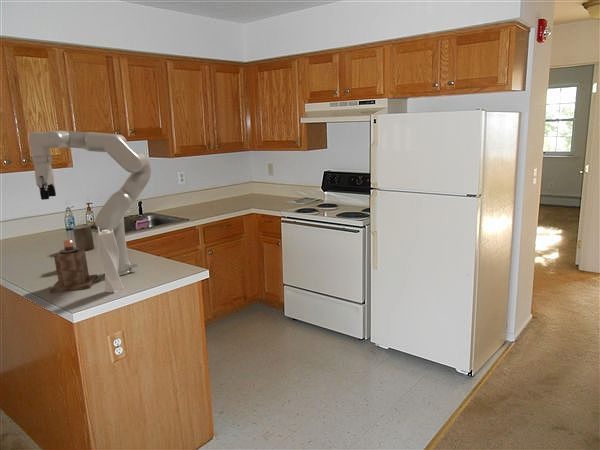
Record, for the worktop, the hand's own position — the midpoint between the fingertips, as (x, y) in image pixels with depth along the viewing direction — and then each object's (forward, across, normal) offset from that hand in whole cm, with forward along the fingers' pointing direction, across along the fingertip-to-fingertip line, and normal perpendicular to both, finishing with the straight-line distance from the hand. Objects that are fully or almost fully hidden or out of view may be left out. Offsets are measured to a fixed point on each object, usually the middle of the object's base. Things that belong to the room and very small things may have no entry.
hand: (48, 197), depth 209 cm
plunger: (+36, +14, +9) cm, 40 cm away
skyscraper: (+38, +28, +28) cm, 55 cm away
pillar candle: (+38, -53, -2) cm, 66 cm away
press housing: (+38, +14, +9) cm, 42 cm away
